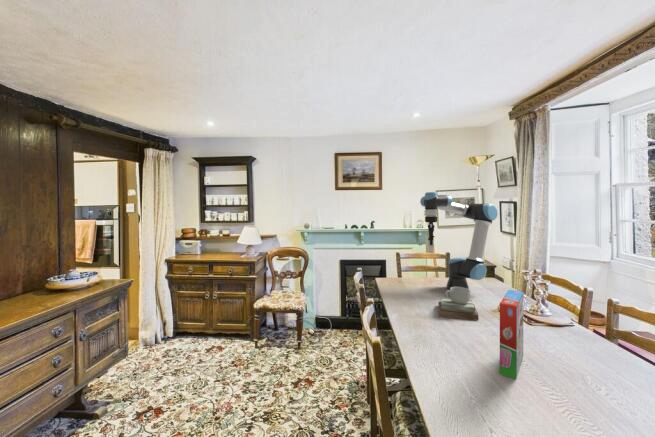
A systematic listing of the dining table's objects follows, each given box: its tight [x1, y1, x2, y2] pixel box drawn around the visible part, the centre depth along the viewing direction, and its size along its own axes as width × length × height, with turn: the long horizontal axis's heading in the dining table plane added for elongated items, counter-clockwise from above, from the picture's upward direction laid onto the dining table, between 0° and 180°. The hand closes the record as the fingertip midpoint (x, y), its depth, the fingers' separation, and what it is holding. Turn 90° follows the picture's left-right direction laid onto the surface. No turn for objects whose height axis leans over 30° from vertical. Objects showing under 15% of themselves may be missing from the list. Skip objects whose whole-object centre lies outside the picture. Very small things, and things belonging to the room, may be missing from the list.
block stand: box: [438, 297, 479, 321], centre depth 172 cm, size 18×20×6 cm
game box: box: [499, 289, 524, 380], centre depth 115 cm, size 21×6×27 cm, turn 141°
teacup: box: [445, 287, 471, 304], centre depth 172 cm, size 14×11×8 cm
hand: (431, 248), depth 191 cm, fingers open, 13 cm apart
